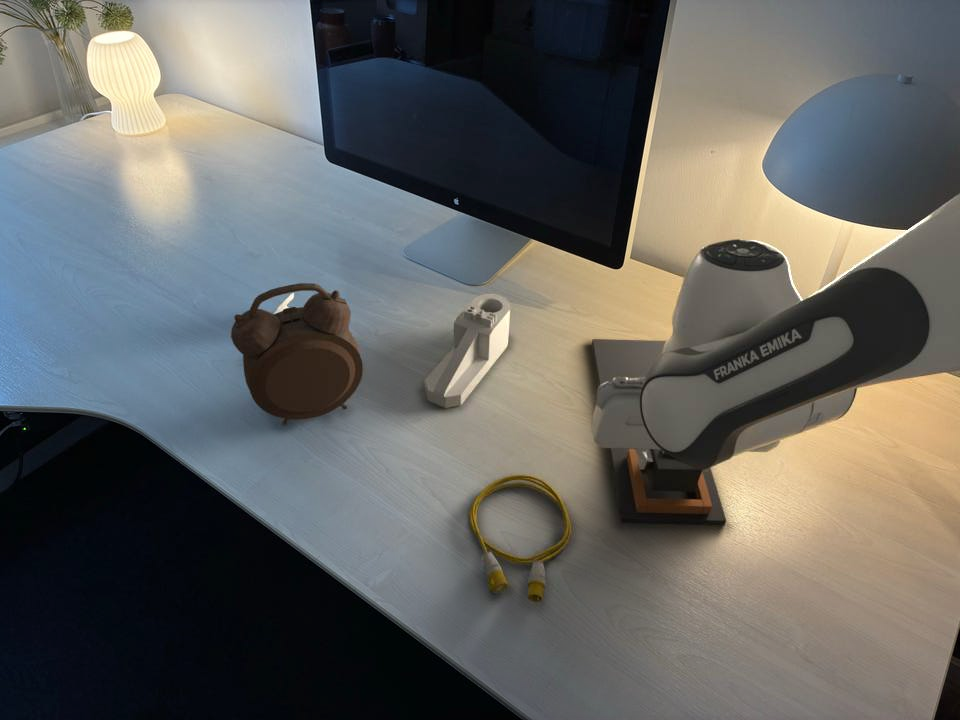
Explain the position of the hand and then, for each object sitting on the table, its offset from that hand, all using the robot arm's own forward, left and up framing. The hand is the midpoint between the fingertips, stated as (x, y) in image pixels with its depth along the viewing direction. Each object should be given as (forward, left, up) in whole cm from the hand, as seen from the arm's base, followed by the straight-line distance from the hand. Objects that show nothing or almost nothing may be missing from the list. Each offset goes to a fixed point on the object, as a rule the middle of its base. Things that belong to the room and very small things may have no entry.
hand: (672, 466), depth 80 cm
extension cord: (+6, +19, -5) cm, 20 cm away
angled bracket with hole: (+32, +6, -5) cm, 33 cm away
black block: (0, 0, -2) cm, 2 cm away
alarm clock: (+38, +28, -5) cm, 47 cm away
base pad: (+8, -7, -4) cm, 12 cm away
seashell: (+56, +24, -5) cm, 61 cm away
